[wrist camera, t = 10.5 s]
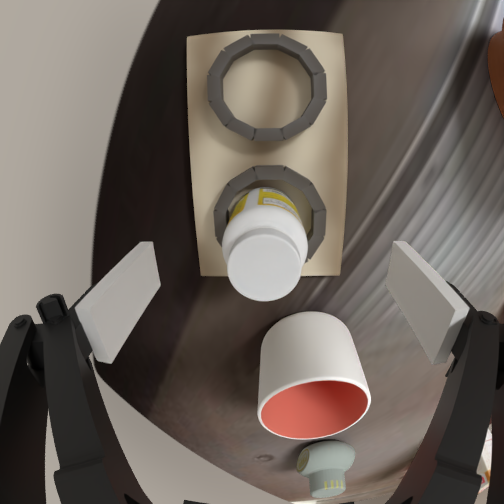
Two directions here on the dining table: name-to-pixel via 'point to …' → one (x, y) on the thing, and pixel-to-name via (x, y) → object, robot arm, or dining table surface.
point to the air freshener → (326, 467)
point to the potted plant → (497, 67)
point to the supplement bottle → (264, 245)
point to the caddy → (269, 134)
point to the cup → (310, 378)
